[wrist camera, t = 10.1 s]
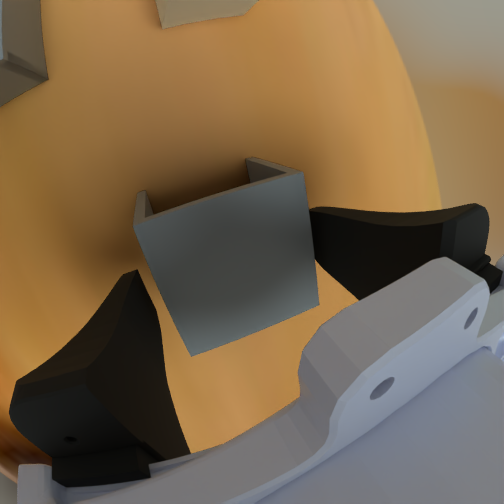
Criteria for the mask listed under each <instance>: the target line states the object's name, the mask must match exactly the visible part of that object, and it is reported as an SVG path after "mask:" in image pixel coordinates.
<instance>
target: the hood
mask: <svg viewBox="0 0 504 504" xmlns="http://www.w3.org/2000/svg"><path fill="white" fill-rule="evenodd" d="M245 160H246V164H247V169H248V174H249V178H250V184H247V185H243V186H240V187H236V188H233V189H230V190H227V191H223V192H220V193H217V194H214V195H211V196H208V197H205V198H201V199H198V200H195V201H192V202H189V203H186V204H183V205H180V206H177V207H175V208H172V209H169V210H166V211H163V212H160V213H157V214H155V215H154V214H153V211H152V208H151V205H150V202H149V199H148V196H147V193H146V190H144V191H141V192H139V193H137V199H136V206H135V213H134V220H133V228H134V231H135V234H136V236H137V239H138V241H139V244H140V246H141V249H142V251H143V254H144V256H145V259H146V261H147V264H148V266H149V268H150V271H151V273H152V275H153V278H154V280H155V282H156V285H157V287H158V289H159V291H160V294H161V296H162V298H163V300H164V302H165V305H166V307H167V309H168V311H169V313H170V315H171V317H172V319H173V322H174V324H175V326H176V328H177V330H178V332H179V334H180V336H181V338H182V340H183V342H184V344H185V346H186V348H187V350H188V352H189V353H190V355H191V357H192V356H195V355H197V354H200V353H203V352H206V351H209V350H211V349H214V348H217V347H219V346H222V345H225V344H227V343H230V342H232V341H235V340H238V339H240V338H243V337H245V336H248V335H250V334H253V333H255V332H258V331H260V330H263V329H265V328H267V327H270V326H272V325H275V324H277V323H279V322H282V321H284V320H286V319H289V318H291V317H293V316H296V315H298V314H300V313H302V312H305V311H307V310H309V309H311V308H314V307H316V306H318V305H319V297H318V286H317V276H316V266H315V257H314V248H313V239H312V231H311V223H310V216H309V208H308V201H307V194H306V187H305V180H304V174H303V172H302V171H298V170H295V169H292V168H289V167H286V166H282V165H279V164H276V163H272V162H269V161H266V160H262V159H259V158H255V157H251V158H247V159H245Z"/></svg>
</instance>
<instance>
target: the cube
mask: <svg viewBox="0 0 504 504" xmlns="http://www.w3.org/2000/svg"><path fill="white" fill-rule="evenodd" d="M155 1H156V5H157V10H158V14H159V18H160V22H161V26H162V29H166V28H170V27H174V26H179V25H183V24H188V23H193V22H199V21H204V20H210V19H217V18H224V17H232V16H241V15H244V14H245V13H246V12H247V11H248V10H249V9H250V8H251V7H252V6H253V5H254V4H255V3H257V2H258V1H259V0H155Z"/></svg>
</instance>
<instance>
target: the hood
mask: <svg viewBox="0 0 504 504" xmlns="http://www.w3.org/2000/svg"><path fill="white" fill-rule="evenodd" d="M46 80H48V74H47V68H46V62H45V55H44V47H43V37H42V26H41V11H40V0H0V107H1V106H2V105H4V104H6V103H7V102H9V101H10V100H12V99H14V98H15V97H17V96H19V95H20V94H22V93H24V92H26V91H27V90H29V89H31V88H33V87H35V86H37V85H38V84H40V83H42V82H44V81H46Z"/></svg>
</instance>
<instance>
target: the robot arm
mask: <svg viewBox="0 0 504 504" xmlns="http://www.w3.org/2000/svg"><path fill="white" fill-rule="evenodd" d="M309 216H310V223H311V231H312V239H313V248H314V257H315V260H316V261H317V262H318V263H319V265H320V266H321V267H322V268H323V269H324V270H325V271H326V272H328V273H329V274H330V275H331V276H332V277H333V278H334V279H336V280H337V281H338V282H339V283H340V284H341V285H342V286H344V287H345V288H346V289H347V290H348V291H349V292H350V293H352V294H353V295H354V296H355V297H356V298H357V299H358V300H359V301H358V302H356V303H354V304H352V305H350V306H348V307H346V308H344V309H343V310H341V311H340V312H339V313H337V314H336V315H335V316H333V317H332V318H330V319H329V320H328V321H326V322H325V323H324V324H322V325H321V326H320V327H319V329H318V330H317V331H316V333H315V334H314V335H313V337H312V338H311V339H310V341H309V342H308V343H307V345H306V346H305V347H304V349H303V351H302V356H301V360H300V365H299V370H298V377H299V384H300V397H299V398H297V399H296V400H294V401H293V402H291V403H290V404H288V405H287V406H285V407H284V408H282V409H281V410H279V411H278V412H276V413H275V414H273V415H272V416H270V417H268V418H267V419H265V420H264V421H262V422H260V423H259V424H257V425H255V426H254V427H252V428H250V429H249V430H247V431H245V432H244V433H242V434H240V435H238V436H237V437H235V438H233V439H231V440H229V441H228V442H226V443H224V444H221V445H218V446H215V447H212V448H209V449H206V450H203V451H199V452H196V453H192V454H191V453H190V450H189V448H188V445H187V443H186V440H185V437H184V435H183V432H182V429H181V426H180V423H179V420H178V417H177V414H176V411H175V408H174V405H173V401H172V398H171V394H170V390H169V387H168V383H167V377H166V371H165V363H164V354H163V344H162V335H161V328H160V323H159V319H158V315H157V311H156V308H155V306H154V304H153V302H152V300H151V298H150V296H149V294H148V292H147V289H146V287H145V285H144V283H143V281H142V279H141V276H140V274H139V272H138V270H137V269H136V270H134V271H131V272H128V273H126V274H123V275H122V276H121V278H120V279H119V280H118V282H117V283H116V284H115V286H114V287H113V289H112V290H111V292H110V293H109V295H108V296H107V297H106V299H105V300H104V302H103V303H102V304H101V306H100V307H99V308H98V310H97V311H96V312H95V314H94V315H93V316H92V318H91V319H90V320H89V321H88V323H87V324H86V325H85V326H84V327H83V328H82V329H81V330H80V331H79V333H78V334H77V335H76V336H75V337H73V338H72V339H71V340H70V341H69V342H68V343H67V344H66V345H65V346H64V347H63V348H62V349H61V350H60V351H58V352H57V353H56V354H55V355H53V356H52V357H51V358H50V359H48V360H47V361H46V362H44V363H43V364H42V365H40V366H39V367H37V368H36V369H34V370H33V371H31V372H30V373H28V374H27V375H25V376H23V377H22V378H20V379H18V380H17V381H16V384H15V388H14V392H13V396H12V400H11V404H10V409H9V415H10V418H11V421H12V422H13V424H14V425H15V427H16V428H17V430H18V431H19V432H20V433H21V434H22V435H23V436H24V437H26V438H27V439H28V440H29V441H31V442H32V443H33V444H34V445H36V446H37V447H38V448H40V449H41V450H42V451H44V452H45V453H46V454H48V455H49V456H50V457H52V467H51V466H48V465H45V464H21V465H19V469H18V491H17V494H18V495H17V504H504V255H503V256H502V257H501V258H500V259H499V260H498V261H497V263H496V265H495V266H493V265H491V264H490V263H489V262H490V261H491V258H490V256H488V255H486V254H485V249H486V244H487V239H488V233H489V216H488V212H487V210H486V208H485V207H483V206H481V205H479V204H476V203H473V204H467V205H462V206H458V207H453V208H448V209H442V210H435V211H425V212H406V213H398V212H375V211H364V210H355V209H346V208H337V207H315V208H312V209H309Z"/></svg>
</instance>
